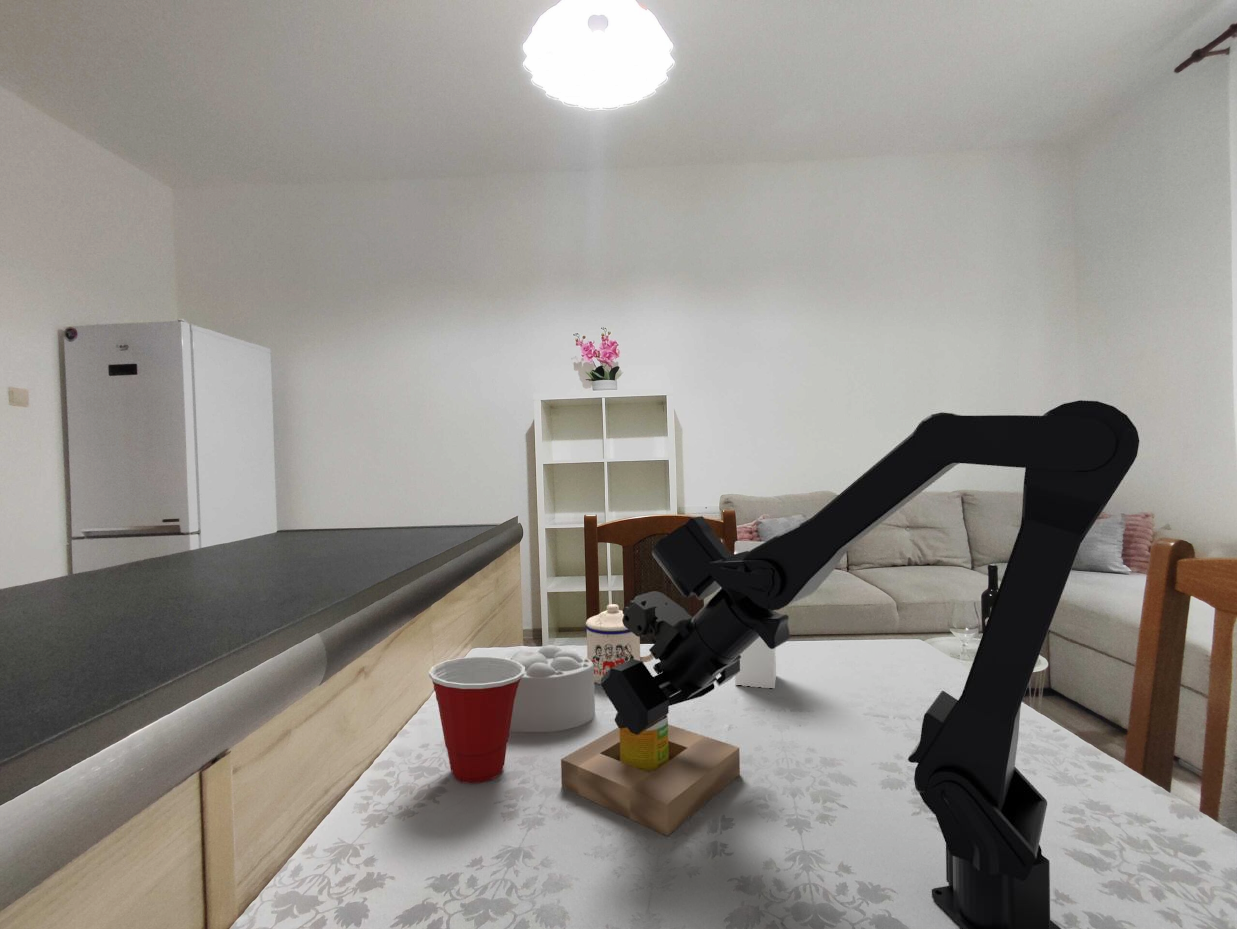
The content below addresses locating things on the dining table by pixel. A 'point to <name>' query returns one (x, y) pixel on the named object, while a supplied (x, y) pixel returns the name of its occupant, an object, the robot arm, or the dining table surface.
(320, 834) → the dining table surface
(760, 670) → the milk
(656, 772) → the bottle holder
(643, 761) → the supplement bottle
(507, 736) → the plastic cup
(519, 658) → the lumpy-topped squat cylinder
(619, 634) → the teacup with lid
